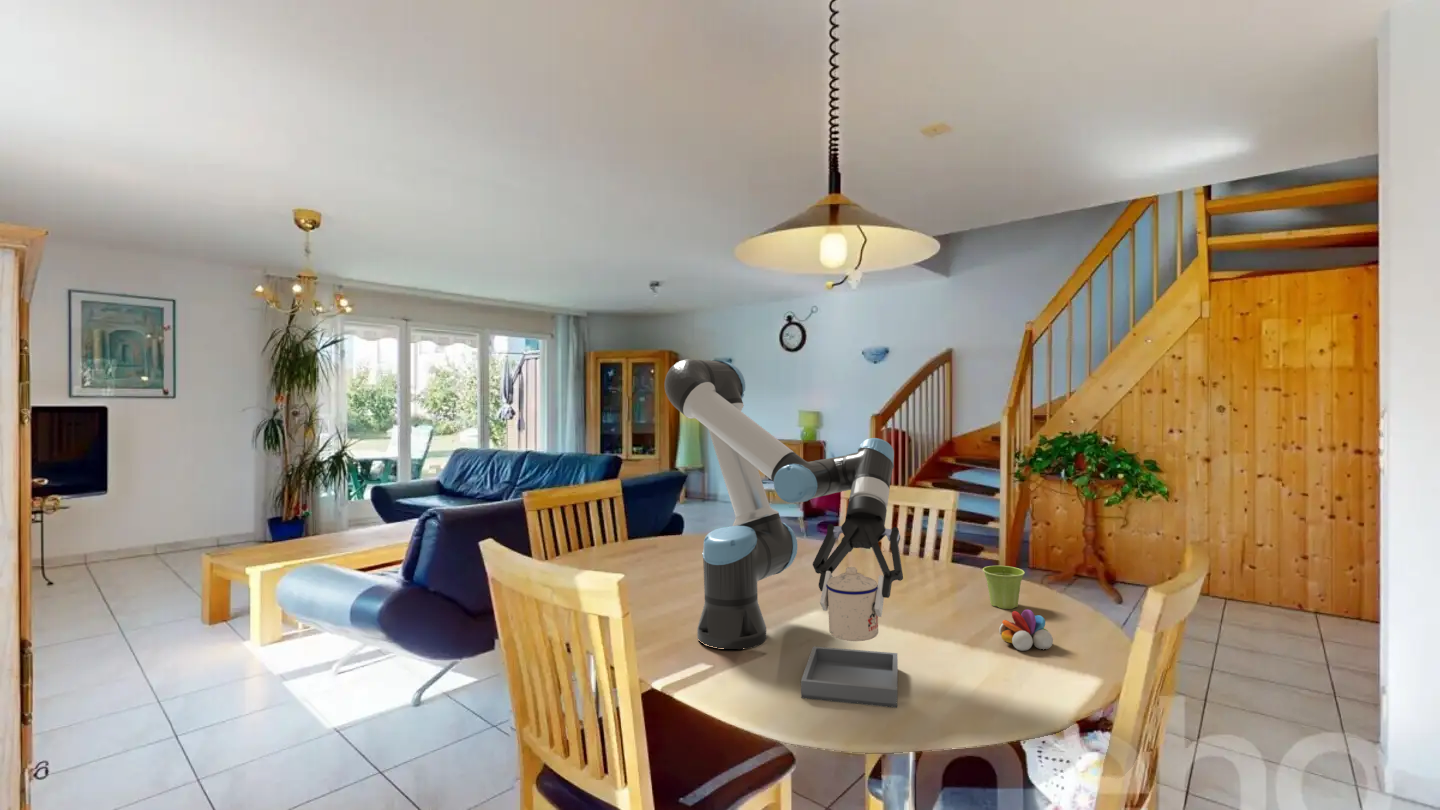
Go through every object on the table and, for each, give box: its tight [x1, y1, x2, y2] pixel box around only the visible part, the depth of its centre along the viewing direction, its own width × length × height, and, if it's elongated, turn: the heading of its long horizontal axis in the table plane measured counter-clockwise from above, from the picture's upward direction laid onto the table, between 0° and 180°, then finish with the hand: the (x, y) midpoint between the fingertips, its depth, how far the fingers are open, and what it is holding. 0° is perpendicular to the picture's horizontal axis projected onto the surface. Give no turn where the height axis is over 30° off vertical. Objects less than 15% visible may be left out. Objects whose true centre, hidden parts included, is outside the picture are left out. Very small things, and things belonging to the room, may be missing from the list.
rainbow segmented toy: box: [998, 609, 1054, 652], centre depth 132 cm, size 8×10×7 cm
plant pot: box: [982, 565, 1026, 610], centre depth 157 cm, size 9×9×9 cm
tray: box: [800, 646, 899, 709], centre depth 116 cm, size 16×16×3 cm
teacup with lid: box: [826, 566, 879, 642], centre depth 115 cm, size 12×9×12 cm
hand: (850, 609), depth 112 cm, fingers closed on teacup with lid, 9 cm apart
